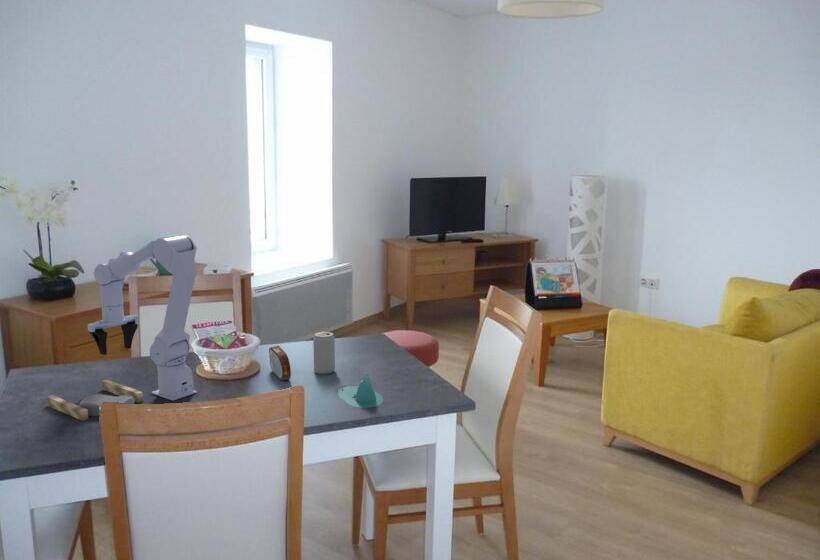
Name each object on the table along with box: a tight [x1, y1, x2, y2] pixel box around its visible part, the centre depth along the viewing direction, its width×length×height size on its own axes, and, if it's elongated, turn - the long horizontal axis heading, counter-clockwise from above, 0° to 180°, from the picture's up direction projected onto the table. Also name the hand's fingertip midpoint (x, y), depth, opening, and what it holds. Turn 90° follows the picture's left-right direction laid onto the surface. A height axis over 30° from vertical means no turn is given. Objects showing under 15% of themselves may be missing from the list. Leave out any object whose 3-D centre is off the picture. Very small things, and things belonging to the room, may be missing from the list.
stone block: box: [78, 393, 135, 417], centre depth 180 cm, size 12×5×10 cm
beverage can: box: [312, 331, 336, 375], centre depth 211 cm, size 6×6×12 cm
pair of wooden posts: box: [46, 379, 144, 422], centre depth 184 cm, size 17×17×2 cm
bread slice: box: [268, 345, 292, 381], centre depth 207 cm, size 15×3×8 cm, turn 26°
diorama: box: [337, 371, 384, 409], centre depth 191 cm, size 12×20×9 cm, turn 27°
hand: (115, 350), depth 199 cm, fingers open, 7 cm apart
